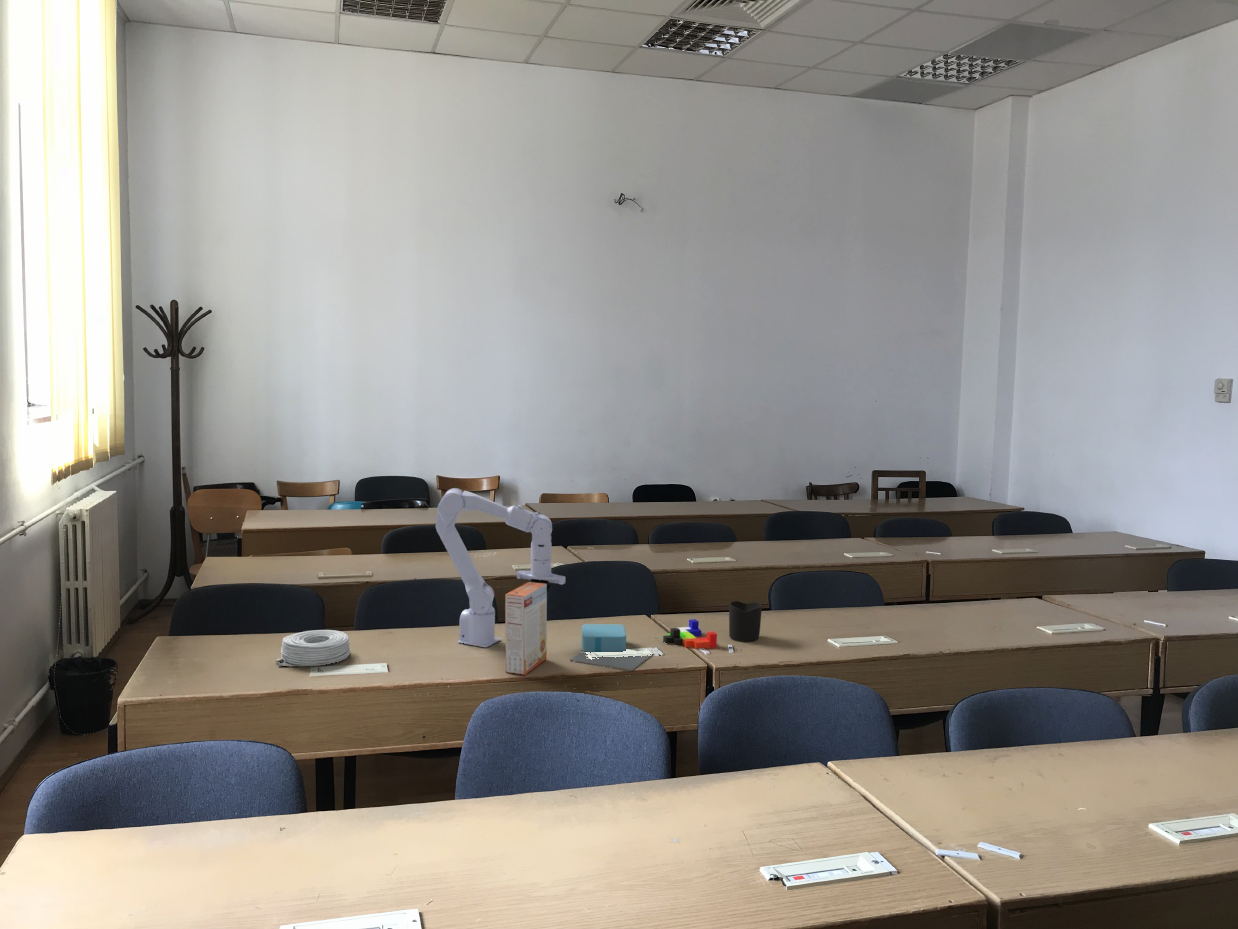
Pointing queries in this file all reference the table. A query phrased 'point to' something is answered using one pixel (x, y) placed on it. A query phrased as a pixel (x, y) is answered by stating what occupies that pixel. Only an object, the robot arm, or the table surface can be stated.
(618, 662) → the mat
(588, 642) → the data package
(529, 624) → the cracker box
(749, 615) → the pen holder
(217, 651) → the table surface
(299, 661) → the cable
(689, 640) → the building blocks
